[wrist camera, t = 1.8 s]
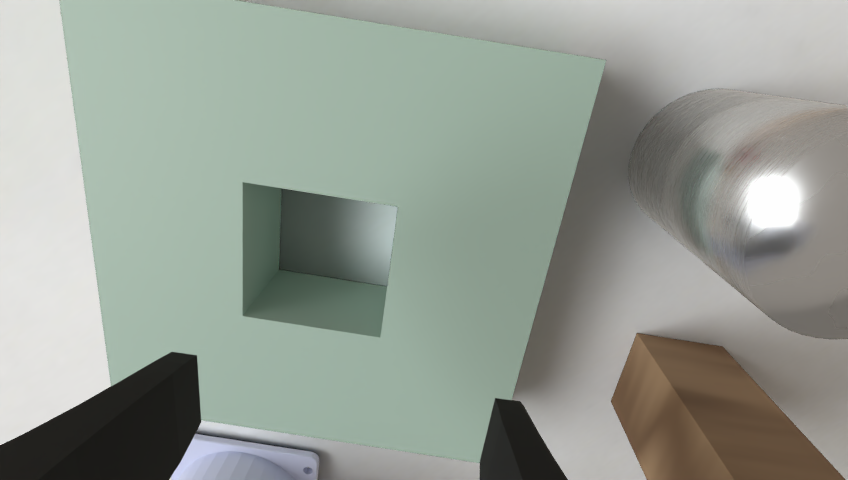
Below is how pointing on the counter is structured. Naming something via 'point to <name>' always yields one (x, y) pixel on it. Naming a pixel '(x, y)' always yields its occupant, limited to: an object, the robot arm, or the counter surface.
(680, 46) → the counter surface
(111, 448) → the robot arm
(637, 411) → the walnut peg
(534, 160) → the socket block
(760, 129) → the steel peg
